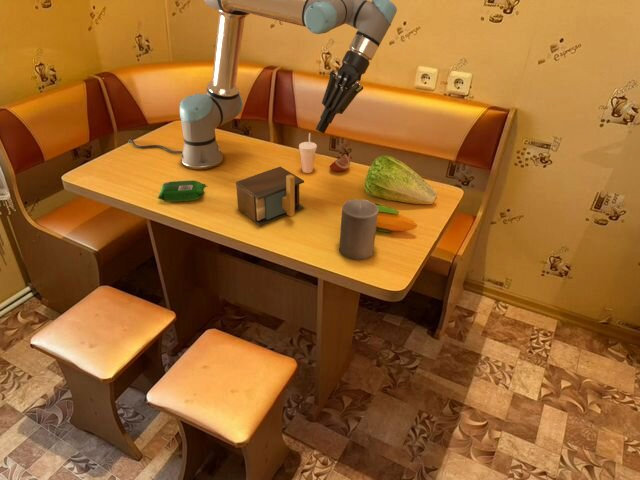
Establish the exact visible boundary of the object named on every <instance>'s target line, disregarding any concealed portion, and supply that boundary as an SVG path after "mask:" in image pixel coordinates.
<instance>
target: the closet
mask: <svg viewBox="0 0 640 480" xmlns="http://www.w3.org/2000/svg"><path fill="white" fill-rule="evenodd" d="M290 174H291V175H293V176H294V177H295V213H297V212H299V211H301V210H304V209H305V207H304V206H303V205H302V204H300V185H302V184H304V183H305V180H304V179H302V178H301V177H299V176H297V175H296V174H294V173H292V172H291V171H289V170H287V169H286V168H284V167H283V166H277V167H274V168H272V169H268V170H266V171H263V172H260V173H258V174H254V175H251V176H248V177H245V178H243V179H239V180H237V181H235V186H236V187H235V188H236V199H237V200H236V201H237V210H238V211H239V212H241V213H242V215H244V216H246V217H247V218H248V219H249V220H251V221H252V222H253V223H255V224H256V225H257V226H258V227H263V226H264V225H267V224H270V223H272V222H274V221H277V220H280V219H283V218H284V217H287V216H288V215H287V212H286V213H283V214H281V215H278V216H276V217H273V218H271V219H268V220H266V217H265V197H267V196H270V195H272V194H275V193H278V192H280V191H283V190H286V176H287V175H290Z"/></svg>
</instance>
